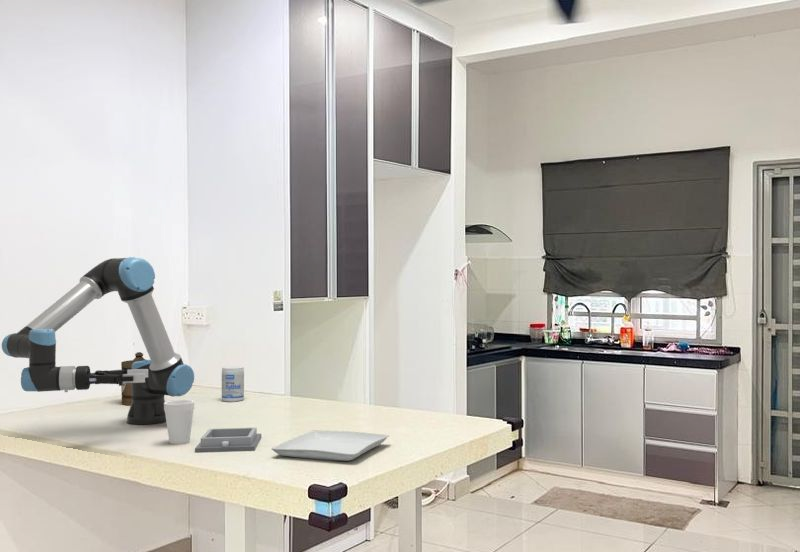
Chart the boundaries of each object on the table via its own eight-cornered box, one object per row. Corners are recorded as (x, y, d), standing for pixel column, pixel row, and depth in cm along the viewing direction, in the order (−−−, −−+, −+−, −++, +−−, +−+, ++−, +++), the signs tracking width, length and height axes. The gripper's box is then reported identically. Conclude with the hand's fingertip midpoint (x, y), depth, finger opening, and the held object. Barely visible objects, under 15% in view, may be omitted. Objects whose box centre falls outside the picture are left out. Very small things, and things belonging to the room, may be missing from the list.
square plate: (313, 440, 249) (313, 428, 249) (390, 446, 239) (390, 433, 239) (270, 459, 223) (270, 446, 223) (354, 466, 213) (354, 452, 213)
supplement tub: (225, 403, 326) (225, 368, 326) (218, 400, 334) (218, 366, 334) (247, 400, 331) (246, 367, 331) (240, 398, 339) (239, 365, 339)
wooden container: (129, 400, 337) (129, 350, 337) (162, 400, 337) (161, 350, 337) (115, 405, 322) (115, 354, 322) (150, 405, 322) (149, 353, 322)
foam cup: (199, 439, 250) (199, 400, 250) (184, 445, 241) (184, 404, 242) (174, 438, 253) (174, 399, 253) (158, 444, 244) (158, 404, 244)
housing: (206, 438, 252) (206, 427, 252) (261, 437, 253) (261, 426, 253) (194, 452, 232) (194, 440, 232) (254, 450, 233) (254, 438, 233)
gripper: (82, 385, 251) (149, 382, 257) (68, 395, 227) (143, 392, 233) (82, 362, 252) (149, 360, 257) (68, 370, 227) (143, 367, 233)
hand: (146, 375), depth 245 cm, fingers open, 13 cm apart
